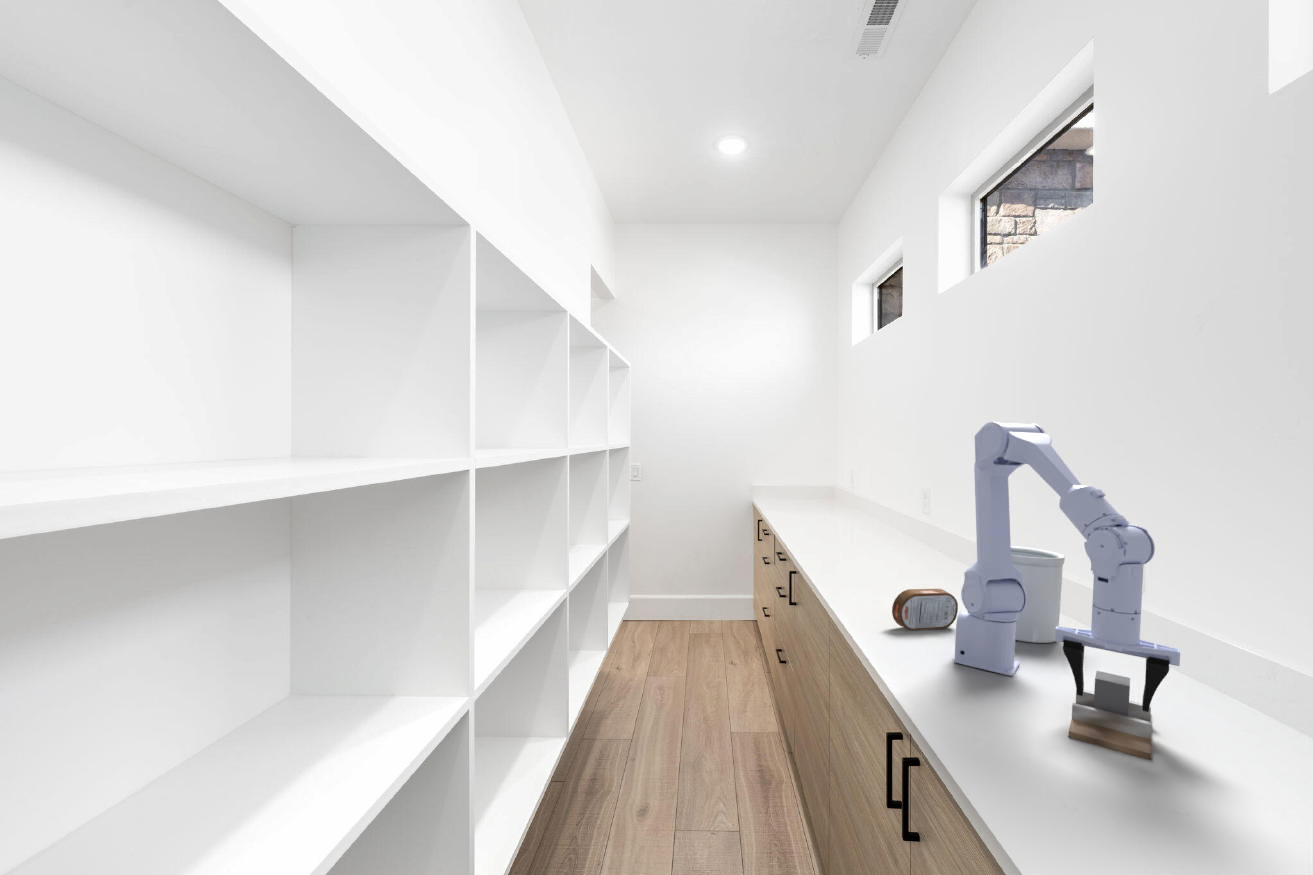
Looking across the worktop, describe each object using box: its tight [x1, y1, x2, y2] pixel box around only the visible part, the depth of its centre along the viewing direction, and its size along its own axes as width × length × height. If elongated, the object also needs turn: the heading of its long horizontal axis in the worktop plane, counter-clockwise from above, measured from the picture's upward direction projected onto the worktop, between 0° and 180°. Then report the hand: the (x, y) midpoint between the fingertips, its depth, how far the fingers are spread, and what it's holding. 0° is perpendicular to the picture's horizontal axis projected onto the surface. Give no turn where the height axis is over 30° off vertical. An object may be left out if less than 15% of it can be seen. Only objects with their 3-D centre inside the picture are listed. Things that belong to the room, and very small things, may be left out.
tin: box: [891, 588, 959, 631], centre depth 133 cm, size 15×3×8 cm, turn 105°
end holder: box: [1067, 689, 1153, 761], centre depth 90 cm, size 9×18×3 cm, turn 142°
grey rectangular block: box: [1093, 670, 1131, 716], centre depth 90 cm, size 4×4×6 cm
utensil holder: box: [990, 545, 1066, 644], centre depth 132 cm, size 15×15×18 cm
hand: (1111, 701), depth 90 cm, fingers open, 7 cm apart
